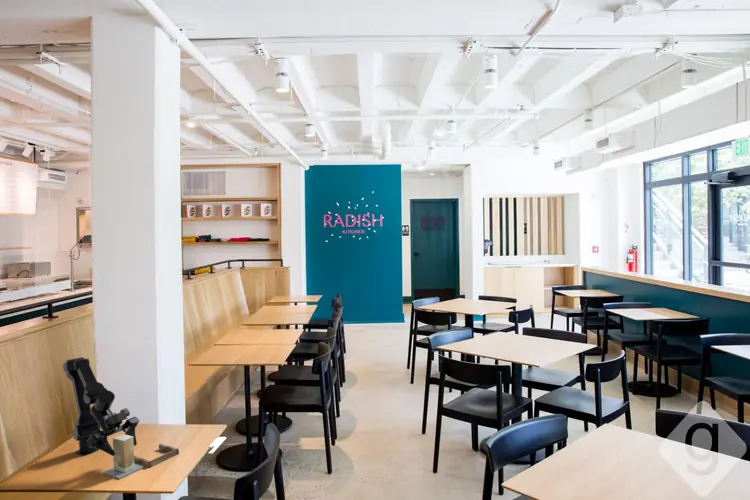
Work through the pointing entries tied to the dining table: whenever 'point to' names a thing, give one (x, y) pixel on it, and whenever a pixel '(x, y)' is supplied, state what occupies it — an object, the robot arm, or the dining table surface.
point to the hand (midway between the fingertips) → (125, 449)
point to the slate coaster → (120, 474)
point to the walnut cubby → (147, 463)
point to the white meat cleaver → (216, 444)
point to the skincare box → (123, 453)
